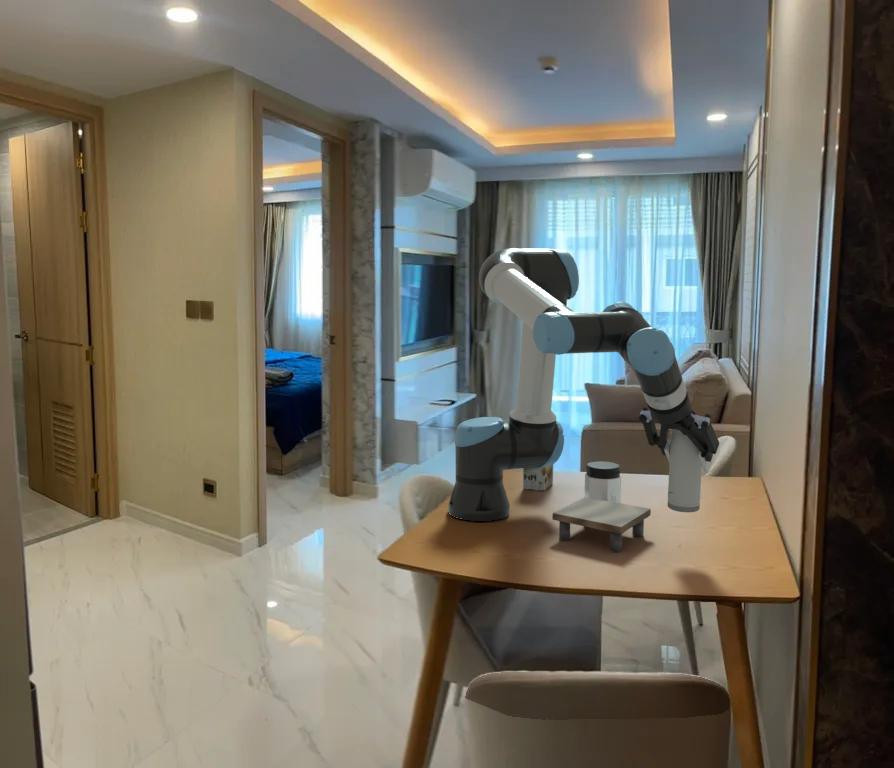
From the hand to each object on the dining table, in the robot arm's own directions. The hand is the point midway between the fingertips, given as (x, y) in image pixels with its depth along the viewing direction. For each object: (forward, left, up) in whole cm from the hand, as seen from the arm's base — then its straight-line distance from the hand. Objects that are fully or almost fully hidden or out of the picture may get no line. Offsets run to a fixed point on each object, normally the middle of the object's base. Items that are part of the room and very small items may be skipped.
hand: (690, 464), depth 149 cm
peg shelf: (-18, -3, -18) cm, 26 cm away
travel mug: (0, -4, -9) cm, 9 cm away
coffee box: (-51, +27, -19) cm, 61 cm away
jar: (-26, +15, -19) cm, 35 cm away
